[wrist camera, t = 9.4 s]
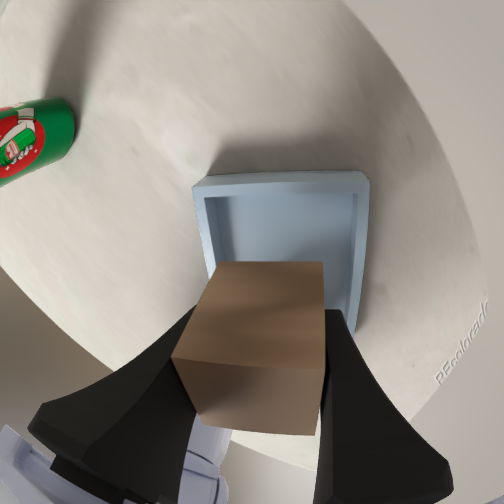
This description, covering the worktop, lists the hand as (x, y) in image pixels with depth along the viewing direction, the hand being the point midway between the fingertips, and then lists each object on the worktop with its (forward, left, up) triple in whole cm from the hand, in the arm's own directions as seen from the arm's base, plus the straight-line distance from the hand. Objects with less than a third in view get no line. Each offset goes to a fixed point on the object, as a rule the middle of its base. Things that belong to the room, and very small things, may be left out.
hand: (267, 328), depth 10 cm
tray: (-3, 0, -8) cm, 9 cm away
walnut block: (0, 0, -2) cm, 2 cm away
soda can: (+9, +16, -8) cm, 20 cm away
